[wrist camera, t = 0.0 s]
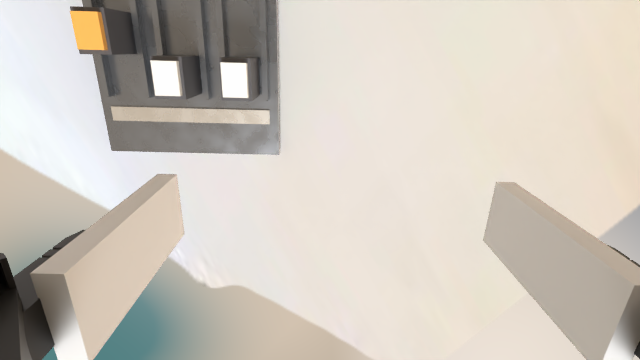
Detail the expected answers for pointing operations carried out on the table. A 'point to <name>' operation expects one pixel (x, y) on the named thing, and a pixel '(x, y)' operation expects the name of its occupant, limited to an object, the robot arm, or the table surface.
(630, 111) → the table surface
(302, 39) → the table surface
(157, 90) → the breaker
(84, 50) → the block
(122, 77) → the panel
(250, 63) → the breaker
